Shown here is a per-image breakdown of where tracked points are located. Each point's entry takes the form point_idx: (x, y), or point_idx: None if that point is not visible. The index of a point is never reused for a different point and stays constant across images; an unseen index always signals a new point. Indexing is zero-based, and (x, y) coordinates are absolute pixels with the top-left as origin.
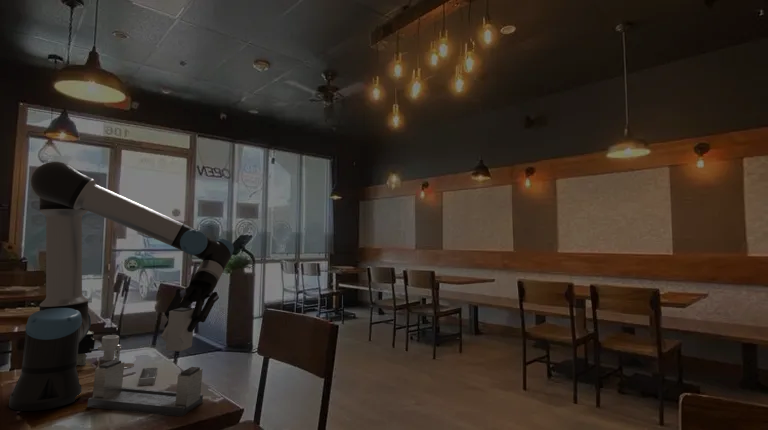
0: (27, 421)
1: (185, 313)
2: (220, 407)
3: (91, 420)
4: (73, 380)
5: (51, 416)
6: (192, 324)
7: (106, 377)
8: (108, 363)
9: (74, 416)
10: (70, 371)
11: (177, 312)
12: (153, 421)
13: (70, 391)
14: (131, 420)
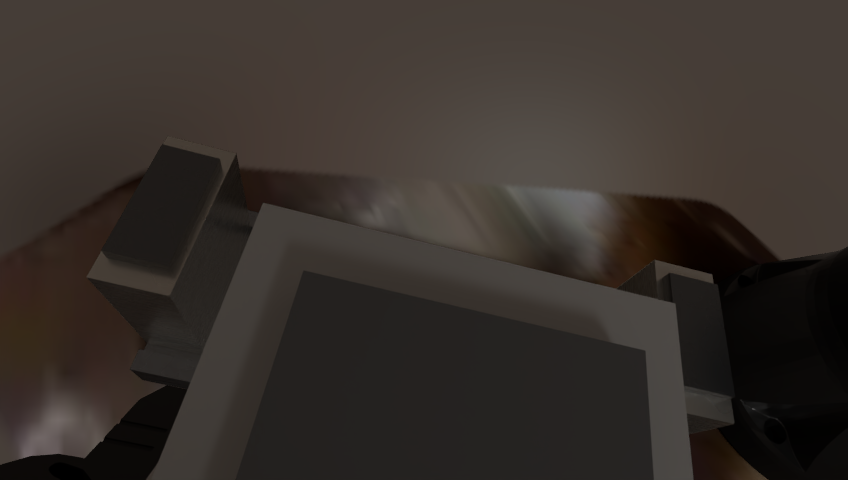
0: (682, 209)
1: (240, 288)
2: (38, 313)
3: (518, 206)
4: (772, 345)
5: (652, 240)
6: (115, 452)
7: (628, 287)
8: (700, 318)
9: (589, 237)
10: (819, 323)
11: (449, 254)
12: (314, 187)
13: (726, 330)
14: (393, 199)
